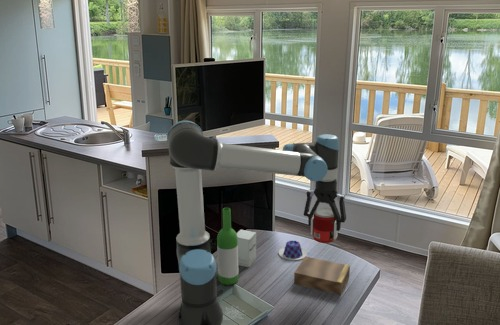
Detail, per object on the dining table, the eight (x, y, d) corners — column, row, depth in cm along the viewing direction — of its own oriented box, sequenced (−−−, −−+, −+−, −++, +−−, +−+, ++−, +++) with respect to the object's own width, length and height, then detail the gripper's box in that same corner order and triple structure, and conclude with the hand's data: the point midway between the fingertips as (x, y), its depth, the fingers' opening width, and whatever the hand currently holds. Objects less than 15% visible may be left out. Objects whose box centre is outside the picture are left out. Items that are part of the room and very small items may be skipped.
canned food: (334, 244, 170) (335, 216, 166) (312, 242, 171) (313, 215, 168) (335, 234, 177) (336, 208, 173) (313, 233, 179) (314, 206, 175)
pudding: (305, 263, 193) (305, 251, 191) (276, 259, 196) (276, 248, 194) (308, 249, 204) (309, 238, 202) (281, 246, 207) (281, 235, 205)
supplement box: (249, 268, 189) (248, 239, 185) (232, 264, 192) (232, 236, 188) (256, 259, 195) (256, 232, 191) (240, 255, 199) (240, 228, 194)
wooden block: (294, 284, 178) (294, 271, 176) (304, 267, 189) (305, 255, 187) (341, 295, 171) (341, 282, 169) (349, 277, 182) (350, 265, 180)
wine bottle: (222, 273, 185) (219, 203, 176) (241, 276, 184) (239, 205, 174) (215, 284, 178) (212, 212, 169) (235, 287, 176) (233, 214, 167)
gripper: (358, 178, 166) (354, 236, 173) (301, 170, 174) (300, 226, 181) (353, 185, 159) (349, 245, 166) (294, 177, 167) (293, 234, 175)
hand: (323, 235), depth 174 cm, fingers closed on canned food, 8 cm apart
